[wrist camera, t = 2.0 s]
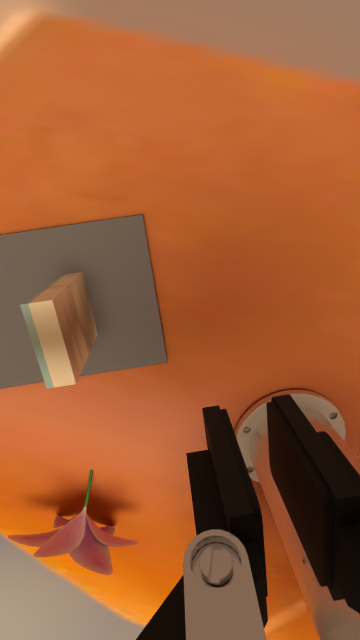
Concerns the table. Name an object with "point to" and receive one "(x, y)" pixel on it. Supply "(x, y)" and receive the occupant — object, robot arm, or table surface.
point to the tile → (61, 328)
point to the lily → (78, 540)
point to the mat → (102, 286)
